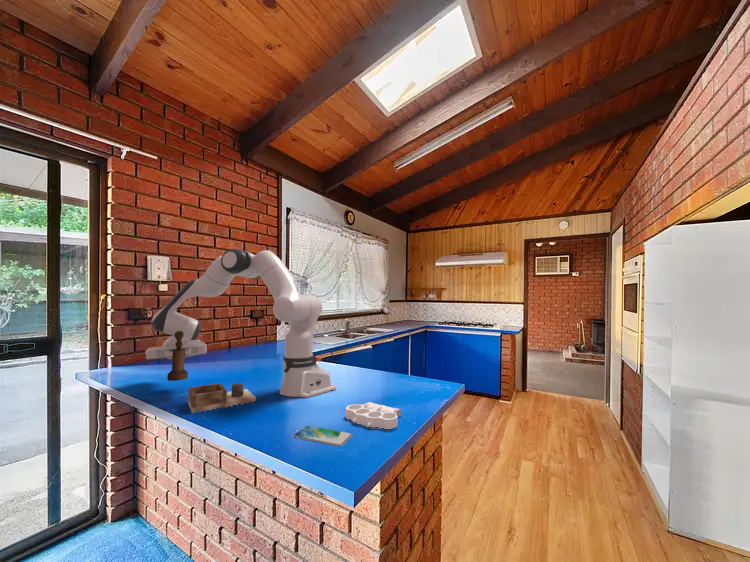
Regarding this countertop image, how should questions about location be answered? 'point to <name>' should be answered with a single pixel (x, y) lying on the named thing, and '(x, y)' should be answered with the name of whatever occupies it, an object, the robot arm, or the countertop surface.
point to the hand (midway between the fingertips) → (178, 353)
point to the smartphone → (323, 435)
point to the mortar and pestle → (178, 360)
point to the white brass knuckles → (373, 415)
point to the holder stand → (217, 397)
